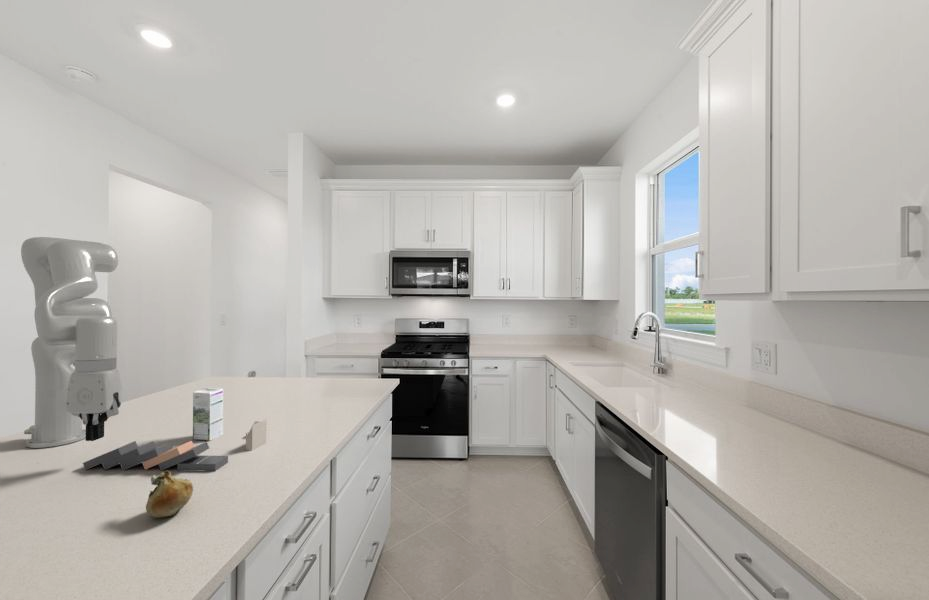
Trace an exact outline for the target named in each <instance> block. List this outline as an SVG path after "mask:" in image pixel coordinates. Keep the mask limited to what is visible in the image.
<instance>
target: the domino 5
mask: <svg viewBox="0 0 929 600" xmlns="http://www.w3.org/2000/svg"><path fill="white" fill-rule="evenodd" d="M209 449H210V447H209V444H208V442H207V441H206V442H202V443H201V444H198V445H195V446H194V447H193V448H191V449H190V450H188V451H186V452H184V453H182V454H180V455H178V456H176V457H173V458H171V459H169V460H166V461H164V462H162V463H159V464H157V465H158V467H159V470H160V471H161V470H162V471H164V470H166V469H169V468H171V467H173V466H175V465H178V463H181V462H183V461H186V460H188V459H190V458H193V457H195V456H200V454H202V453H204V452H206V451H208V450H209Z"/></svg>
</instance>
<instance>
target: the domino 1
mask: <svg viewBox="0 0 929 600" xmlns="http://www.w3.org/2000/svg"><path fill="white" fill-rule="evenodd" d="M136 441H137V440H134V441H132V442H130V443H127V444H125V445H123V446H120V447H117V448H115V449H113V450H111V451H110V450H109V451H107V452H106V453H102V454H100V455H98V456H96V457H94V458H92V459H89V460H86V461H84V462H82V464H83V466H84V467H83V468H84V470H85V471H86V470H89V469H91V468H93V467H96V466H99V465H101V464H102V463H103V462H106V461H108V460H111V459H113V458H115V457H118V456H120V455H123V454H125V453H127V452H129V451H131V450H134V449H136V448H138V447H139V446H138V444H137V442H136Z"/></svg>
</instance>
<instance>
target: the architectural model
mask: <svg viewBox="0 0 929 600" xmlns="http://www.w3.org/2000/svg"><path fill="white" fill-rule="evenodd" d="M267 433H269V430H267V419H263V420H261V421H259V420H258V421H257V420H255V421H254V422H253V424H252V425H251V428H250V429H249V431H248V432H245V436H243V437H241V440H245V451H250V452H251V451H254V450H256V449H259V448H260V447H262V446H264V445H266V444H267Z"/></svg>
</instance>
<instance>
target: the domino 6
mask: <svg viewBox="0 0 929 600" xmlns="http://www.w3.org/2000/svg"><path fill="white" fill-rule="evenodd" d="M228 463H229V455H197V456H195V457H193V458H190V459H188V460H186V461H183V462H181V463H178V464H177V471H178V470H205V471H204V472H216V470H217V471H218V470H220V469H221V468H222V467H224V466H225V465H227V464H228Z"/></svg>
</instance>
